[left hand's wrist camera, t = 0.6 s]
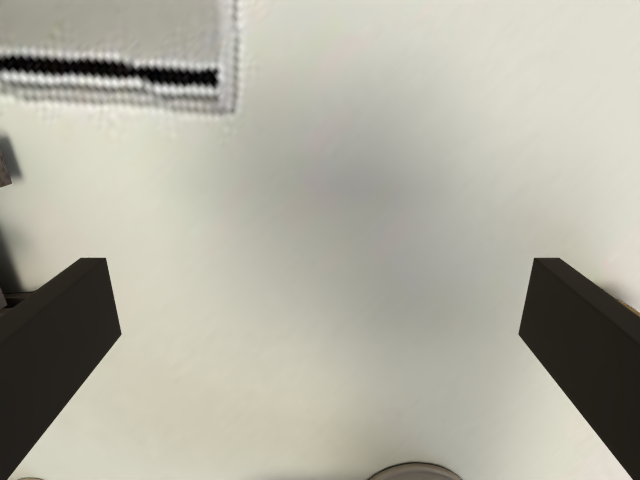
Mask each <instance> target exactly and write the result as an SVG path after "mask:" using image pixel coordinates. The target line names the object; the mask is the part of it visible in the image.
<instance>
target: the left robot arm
mask: <svg viewBox="0 0 640 480" xmlns="http://www.w3.org/2000/svg"><path fill="white" fill-rule="evenodd" d="M120 336H121V329H120V324H119V320H118V315H117V310H116V305H115V300H114V295H113V290H112V285H111V281H110V276H109V271H108V266H107V261H106V258H80V259H79V260H77V261H76V262H75V263H73V264H72V265H70V266H69V267H68V268H66V269H65V270H64V271H62V272H61V273H60V274H58V275H57V276H55V277H54V278H53V279H51V280H50V281H49V282H47V283H46V284H45V285H43V286H42V287H40V288H39V289H38V290H36V291H35V292H34V293H32V294H31V295H30V296H28V297H27V298H25V299H24V300H23V301H21V302H20V303H19V304H17V305H16V306H15V307H13V308H12V309H10V310H9V311H8V312H6V313H5V314H4V315H2V316H1V317H0V480H7V479H8V478H9V477H10V475H11V474H12V473H13V471H14V470H15V469H16V468H17V466H18V465H19V464H20V463H21V461H22V460H23V459H24V458H25V456H26V455H27V454H28V452H29V451H30V450H31V449H32V447H33V446H34V445H35V444H36V442H37V441H38V440H39V438H40V437H41V436H42V435H43V433H44V432H45V431H46V430H47V428H48V427H49V426H50V425H51V423H52V422H53V421H54V419H55V418H56V417H57V416H58V414H59V413H60V412H61V411H62V409H63V408H64V407H65V405H66V404H67V403H68V402H69V400H70V399H71V398H72V397H73V395H74V394H75V393H76V392H77V390H78V389H79V388H80V386H81V385H82V384H83V383H84V381H85V380H86V379H87V378H88V376H89V375H90V374H91V372H92V371H93V370H94V369H95V367H96V366H97V365H98V364H99V362H100V361H101V360H102V359H103V357H104V356H105V355H106V353H107V352H108V351H109V350H110V348H111V347H112V346H113V345H114V343H115V342H116V341H117V339H118V338H119V337H120ZM519 336H520V337H521V338H522V339H523V341H524V342H525V343H526V345H527V346H528V347H529V348H530V350H531V351H532V352H533V353H534V355H535V356H536V357H537V359H538V360H539V361H540V362H541V364H542V365H543V366H544V367H545V369H546V370H547V371H548V372H549V374H550V375H551V376H552V378H553V379H554V380H555V381H556V383H557V384H558V385H559V386H560V388H561V389H562V390H563V392H564V393H565V394H566V395H567V397H568V398H569V399H570V400H571V402H572V403H573V404H574V405H575V407H576V408H577V409H578V411H579V412H580V413H581V414H582V416H583V417H584V418H585V419H586V421H587V422H588V423H589V425H590V426H591V427H592V428H593V430H594V431H595V432H596V433H597V435H598V436H599V437H600V438H601V440H602V441H603V442H604V444H605V445H606V446H607V447H608V449H609V450H610V451H611V452H612V454H613V455H614V456H615V458H616V459H617V460H618V461H619V463H620V464H621V465H622V466H623V468H624V469H625V470H626V471H627V473H628V474H629V475H630V477H631V478H632V479H633V480H640V317H639V316H638V315H636V314H635V313H634V312H632V311H631V310H630V309H628V308H627V307H625V306H624V305H623V304H621V303H620V302H619V301H617V300H616V299H615V298H613V297H612V296H610V295H609V294H608V293H606V292H605V291H604V290H602V289H601V288H600V287H598V286H597V285H595V284H594V283H593V282H591V281H590V280H589V279H587V278H586V277H585V276H583V275H582V274H580V273H579V272H578V271H576V270H575V269H574V268H572V267H571V266H570V265H568V264H567V263H565V262H564V261H563V260H561V259H560V258H534V261H533V266H532V271H531V276H530V281H529V285H528V290H527V295H526V300H525V305H524V310H523V315H522V320H521V324H520V329H519ZM370 480H461V479H460V478H459V477H458V476H457V475H455V474H454V473H452V472H450V471H449V470H447V469H444V468H442V467H439V466H435V465H430V464H418V463H415V464H404V465H399V466H395V467H392V468H389V469H386V470H384V471H382V472H380V473H378V474H376V475H375V476H373V477H372V478H371V479H370Z"/></svg>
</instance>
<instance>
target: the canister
mask: <svg viewBox="0 0 640 480" xmlns="http://www.w3.org/2000/svg"><path fill="white" fill-rule="evenodd" d="M20 480H41V479H35V478H25V479H20Z"/></svg>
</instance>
